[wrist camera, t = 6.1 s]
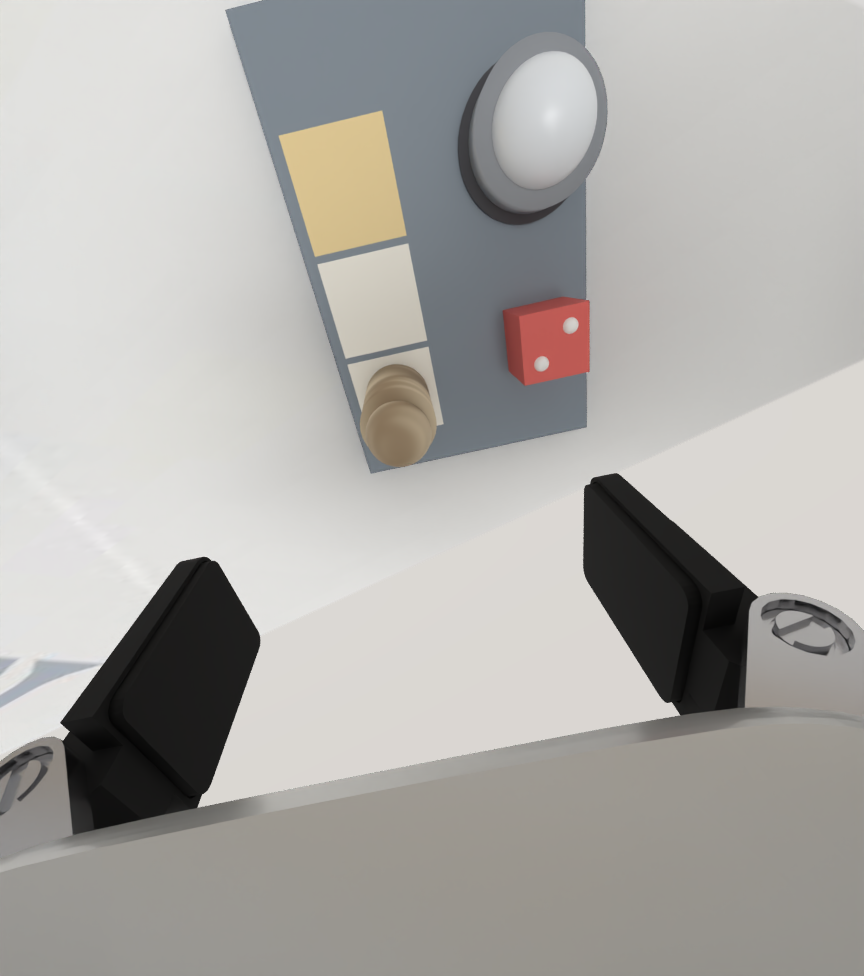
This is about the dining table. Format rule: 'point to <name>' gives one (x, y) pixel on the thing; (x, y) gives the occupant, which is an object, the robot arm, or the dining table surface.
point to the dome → (538, 123)
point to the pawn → (398, 416)
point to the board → (422, 209)
